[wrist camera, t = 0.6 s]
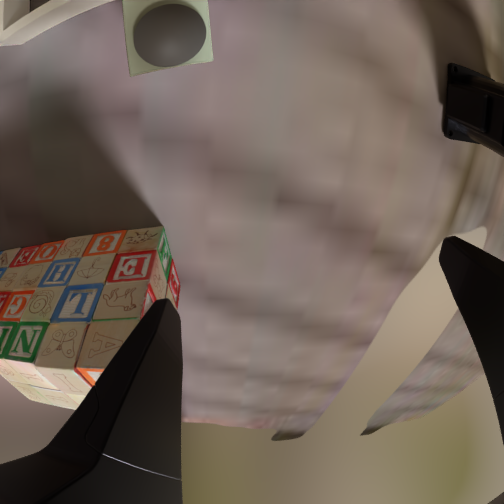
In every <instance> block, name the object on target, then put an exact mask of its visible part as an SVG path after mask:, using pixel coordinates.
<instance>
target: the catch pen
mask: <svg viewBox="0 0 504 504" xmlns="http://www.w3.org/2000/svg"><path fill="white" fill-rule="evenodd" d="M111 1H114V0H50V1H49V2H47V3H45V4H43V5H42V6H40V7H38V8H37V9H35V10H33V11H32V12H30V0H0V46H8V45H22V44H24V43H26V42H27V41H29V40H31V39H32V38H34V37H36V36H37V35H39V34H41V33H43V32H44V31H46V30H48V29H50V28H52V27H54V26H56V25H58V24H60V23H62V22H64V21H66V20H68V19H70V18H72V17H74V16H76V15H78V14H81V13H83V12H85V11H88V10H90V9H92V8H95V7H98V6H100V5H103V4H105V3H108V2H111Z"/></svg>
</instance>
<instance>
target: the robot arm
mask: <svg viewBox="0 0 504 504" xmlns="http://www.w3.org/2000/svg"><path fill="white" fill-rule="evenodd" d="M453 68H454V70H453ZM449 131H450V133H449ZM444 136H445V137H447V138H449V139H453V140H460V141H466V142H471V143H477V144H482V145H484V146H486V147H487V148H489V149H491V150H493V151H494V152H496V153H498V154H499V155H501V156H503V157H504V84H502V83H499V82H495V80H493V79H491V78H489V77H487V76H484V75H482V74H480V73H478V72H475V71H473V70H470V69H468V68H466V67H463V66H460V65H458V64H455V63H450V64H449V65H448V87H447V104H446V115H445V125H444ZM439 262H440V265H441V268H442V270H443V272H444V274H445V276H446V279H447V282H448V284H449V287H450V289H451V292H452V295H453V297H454V299H455V301H456V304H457V306H458V308H459V310H460V312H461V315H462V317H463V319H464V321H465V323H466V326H467V328H468V330H469V333H470V335H471V337H472V340H473V342H474V345H475V347H476V350H477V352H478V355H479V358H480V360H481V363H482V366H483V369H484V372H485V375H486V377H487V380H488V384H489V387H490V390H491V394H492V397H493V401H494V405H495V408H496V412H497V416H498V420H499V425H500V429H501V434H502V439H503V444H504V262H503V261H502V260H500V259H498V258H496V257H494V256H493V255H491V254H489V253H487V252H485V251H483V250H482V249H480V248H478V247H476V246H474V245H472V244H470V243H468V242H466V241H464V240H462V239H460V238H458V237H456V236H450V237H446V238H445V239H444V240H443V243H442V247H441V251H440V255H439ZM182 374H183V356H182V339H181V320H180V316H179V314H178V312H177V310H176V309H175V307H174V305H173V304H172V302H171V300H170V299H168V298H163V299H158V300H156V301H155V302H154V303H153V304H152V305H151V307H150V308H149V309H148V311H147V312H146V313H145V315H144V316H143V317H142V319H141V320H140V321H139V323H138V324H137V325H136V327H135V328H134V329H133V331H132V332H131V333H130V335H129V336H128V337H127V339H126V340H125V342H124V343H123V344H122V346H121V347H120V348H119V350H118V351H117V353H116V354H115V355H114V357H113V358H112V359H111V361H110V362H109V364H108V365H107V366H106V368H105V369H104V371H103V372H102V374H101V375H100V376H99V378H98V379H97V381H96V382H95V385H93V386H92V388H91V389H90V391H89V392H88V394H87V395H86V397H85V398H84V399H83V401H82V402H81V404H80V405H79V406H78V408H77V409H76V410H75V412H74V413H73V414H72V415H71V417H70V418H69V419H68V421H67V422H66V423H65V424H64V426H63V427H62V428H61V429H60V431H59V432H58V433H57V434H56V436H55V437H54V438H53V439H52V441H51V442H50V443H49V444H48V445H47V446H46V447H45V448H44V449H42V450H41V451H39V452H37V453H34V454H31V455H28V456H25V457H22V458H19V459H16V460H13V461H10V462H6V463H3V464H0V504H183V501H182V481H181V402H182ZM488 504H504V492H503V493H502V494H500V495H499V496H498V497H497V498H495V499H494V500H492V501H491V502H489V503H488Z"/></svg>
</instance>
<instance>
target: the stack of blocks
mask: <svg viewBox="0 0 504 504" xmlns="http://www.w3.org/2000/svg"><path fill="white" fill-rule="evenodd" d="M179 292H180V282H179V279H178V275H177V272H176V269H175V265H174V262H173V259H172V257H171V253H170V249H169V245H168V242H167V238H166V234H165V229H164V227H163V226H159V227H151V228H143V229H135V230H120V231H113V232H106V233H99V234H94V235H84V236H78V237H72V238H67V239H66V240H61V241H57V242H50V243H44V244H43V245H35V246H31V247H25V248H21V247H20V248H15V249H10V250H5V251H0V374H1V375H2V376H3V377H4V378H5V379H6V380H7V381H8V382H10V383H11V384H12V385H13V386H14V387H16V389H18V390H19V391H20V392H21V393H22V394H23V395H25V396H26V397H27V398H28V399H30V400H33V401H37V402H41V403H45V404H50V405H55V406H59V407H64V408H70V409H75V410H76V409H77V408H78V406H79V405H80V404H81V402H82V401H83V399H84V398H85V397H86V395H87V394H88V392H89V391H90V389H91V388H92V386H93V385H95V382H96V381H97V379H98V378H99V376H100V375H101V374H102V372H103V371H104V369H105V368H106V366H107V365H108V364H109V362H110V361H111V359H112V358H113V357H114V355H115V354H116V353H117V351H118V350H119V348H120V347H121V346H122V344H123V343H124V342H125V340H126V339H127V337H128V336H129V335H130V333H131V332H132V331H133V329H134V328H135V327H136V325H137V324H138V323H139V321H140V320H141V319H142V317H143V316H144V315H145V313H146V312H147V311H148V309H149V308H150V307H151V305H152V304H153V303H154V302H155V301H156V300H158V299H163V298H168V299H170V300H171V302H172V304H173V305H174V307H175V309H176V310H177V308H178V301H179Z"/></svg>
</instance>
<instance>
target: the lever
mask: <svg viewBox="0 0 504 504" xmlns="http://www.w3.org/2000/svg"><path fill="white" fill-rule="evenodd" d="M122 6H123V19H124V31H125V41H126V49H127V58H128V65H129V73H130V77H132V76H136V75H140V74H144V73H149V72H153V71H158V70H163V69H168V68H173V67H179V66H185V65H191V64H198V63H206V62H210V61H213V52H212V42H211V32H210V21H209V11H208V0H122Z"/></svg>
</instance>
